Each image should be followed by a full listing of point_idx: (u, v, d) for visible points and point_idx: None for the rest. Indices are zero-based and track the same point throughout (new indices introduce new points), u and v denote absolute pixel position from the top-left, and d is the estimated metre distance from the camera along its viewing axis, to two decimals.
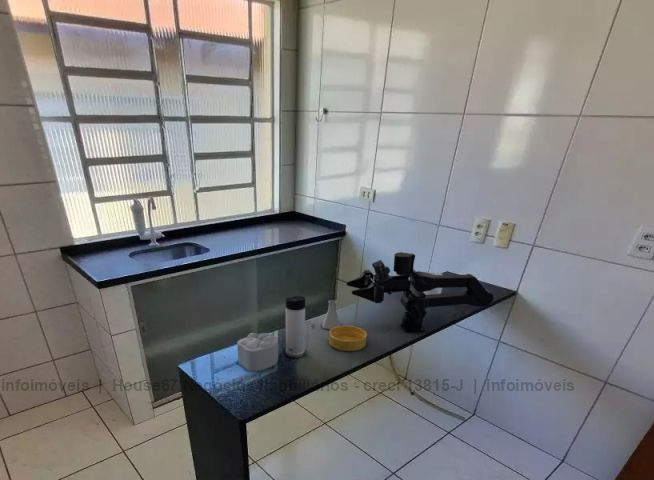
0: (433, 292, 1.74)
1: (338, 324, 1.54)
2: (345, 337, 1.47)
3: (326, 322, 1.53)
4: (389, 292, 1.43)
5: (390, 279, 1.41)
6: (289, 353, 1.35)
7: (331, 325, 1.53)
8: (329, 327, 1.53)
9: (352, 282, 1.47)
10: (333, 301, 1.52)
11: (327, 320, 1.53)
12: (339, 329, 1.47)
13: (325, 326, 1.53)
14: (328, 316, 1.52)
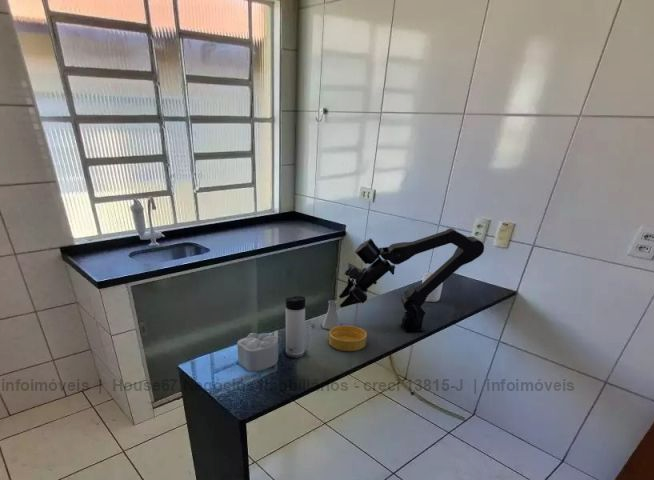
0: (433, 292, 1.74)
1: (338, 324, 1.54)
2: (345, 337, 1.47)
3: (326, 322, 1.53)
4: (374, 282, 1.43)
5: (365, 273, 1.42)
6: (289, 353, 1.35)
7: (331, 325, 1.53)
8: (329, 327, 1.53)
9: (343, 293, 1.53)
10: (333, 301, 1.52)
11: (327, 320, 1.53)
12: (339, 329, 1.47)
13: (325, 326, 1.53)
14: (328, 316, 1.52)
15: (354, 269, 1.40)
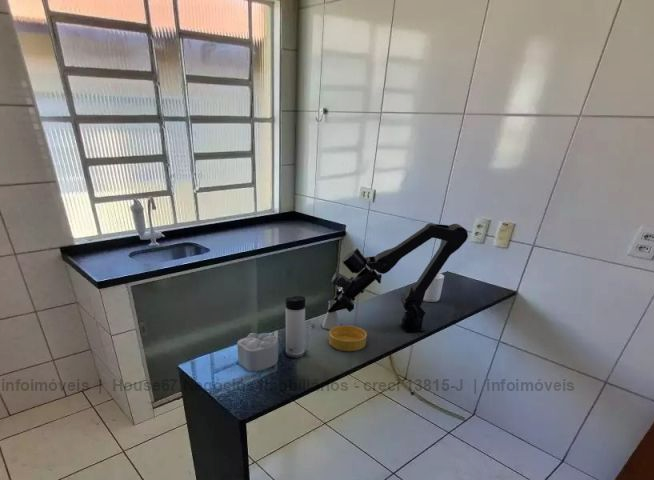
0: (433, 292, 1.74)
1: (338, 324, 1.54)
2: (345, 337, 1.47)
3: (326, 322, 1.53)
4: (361, 291, 1.45)
5: (352, 282, 1.44)
6: (289, 353, 1.35)
7: (331, 325, 1.53)
8: (329, 327, 1.53)
9: None
10: (333, 301, 1.52)
11: (327, 320, 1.53)
12: (339, 329, 1.47)
13: (325, 326, 1.53)
14: (328, 316, 1.52)
15: (341, 278, 1.42)
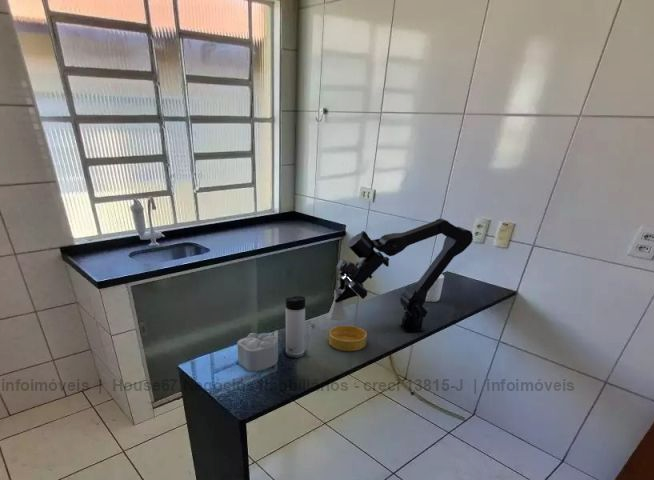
0: (433, 292, 1.74)
1: (345, 314, 1.45)
2: (345, 337, 1.47)
3: (333, 313, 1.43)
4: (369, 276, 1.38)
5: (361, 267, 1.36)
6: (289, 353, 1.35)
7: (339, 315, 1.43)
8: (337, 318, 1.43)
9: None
10: (338, 290, 1.42)
11: (334, 311, 1.43)
12: (339, 329, 1.47)
13: (333, 317, 1.44)
14: (335, 306, 1.43)
15: (351, 264, 1.33)
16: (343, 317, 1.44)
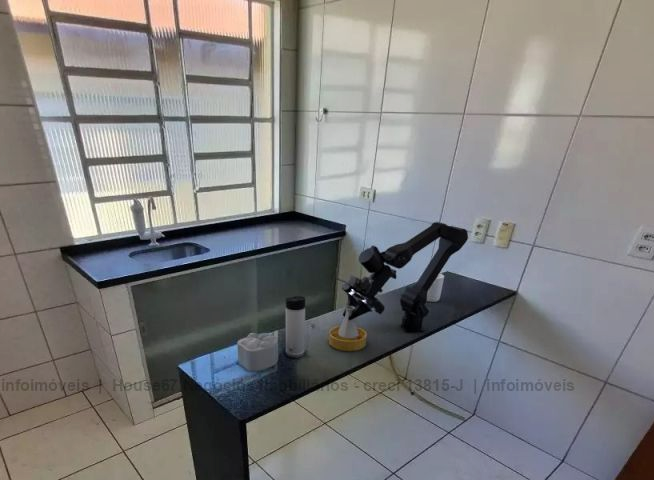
0: (433, 292, 1.74)
1: None
2: None
3: (347, 331, 1.38)
4: (380, 290, 1.36)
5: (373, 282, 1.33)
6: (289, 353, 1.35)
7: (353, 333, 1.39)
8: (351, 335, 1.39)
9: None
10: (349, 307, 1.38)
11: (348, 328, 1.38)
12: None
13: (346, 335, 1.39)
14: (348, 324, 1.38)
15: (366, 280, 1.29)
16: (356, 334, 1.40)
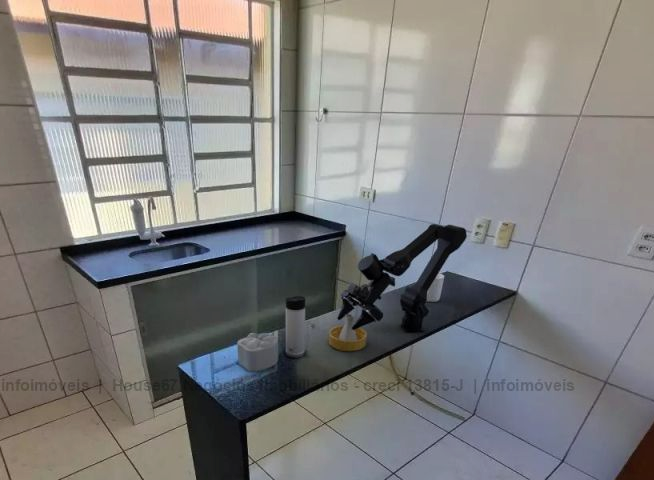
0: (433, 292, 1.74)
1: None
2: None
3: (346, 339, 1.40)
4: (379, 298, 1.37)
5: (372, 289, 1.34)
6: (289, 353, 1.35)
7: (352, 340, 1.40)
8: None
9: (341, 314, 1.42)
10: (348, 315, 1.39)
11: (347, 336, 1.40)
12: (339, 329, 1.47)
13: None
14: (348, 332, 1.39)
15: (365, 288, 1.30)
16: None
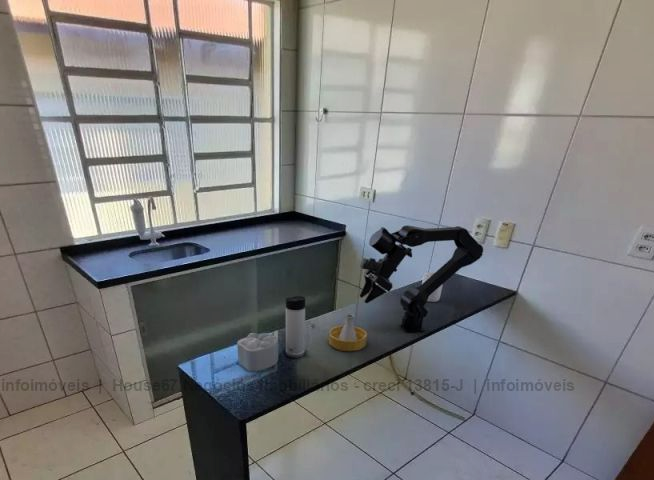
0: (433, 292, 1.74)
1: None
2: None
3: (346, 339, 1.40)
4: (394, 270, 1.37)
5: (383, 262, 1.35)
6: (289, 353, 1.35)
7: (352, 340, 1.40)
8: None
9: (363, 291, 1.46)
10: (348, 315, 1.39)
11: (347, 336, 1.40)
12: (339, 329, 1.47)
13: None
14: (348, 332, 1.39)
15: (371, 260, 1.33)
16: None
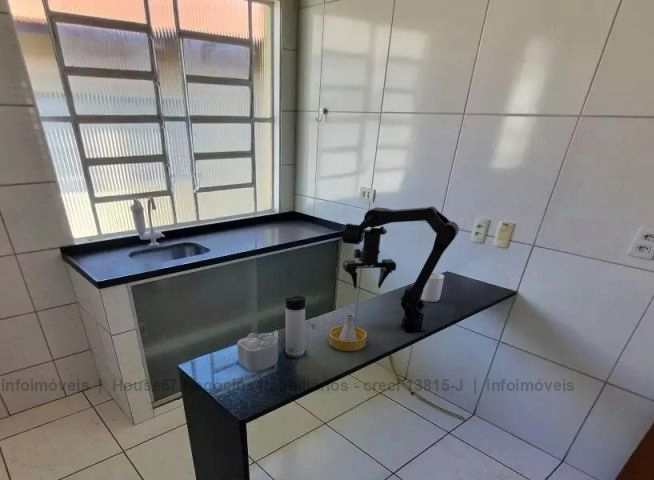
0: (433, 292, 1.74)
1: None
2: None
3: (346, 339, 1.40)
4: (365, 252, 1.45)
5: (362, 249, 1.49)
6: (289, 353, 1.35)
7: (352, 340, 1.40)
8: None
9: None
10: (348, 315, 1.39)
11: (347, 336, 1.40)
12: (339, 329, 1.47)
13: None
14: (348, 332, 1.39)
15: (354, 251, 1.53)
16: None
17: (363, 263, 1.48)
